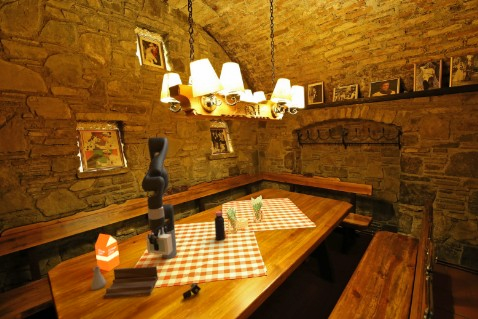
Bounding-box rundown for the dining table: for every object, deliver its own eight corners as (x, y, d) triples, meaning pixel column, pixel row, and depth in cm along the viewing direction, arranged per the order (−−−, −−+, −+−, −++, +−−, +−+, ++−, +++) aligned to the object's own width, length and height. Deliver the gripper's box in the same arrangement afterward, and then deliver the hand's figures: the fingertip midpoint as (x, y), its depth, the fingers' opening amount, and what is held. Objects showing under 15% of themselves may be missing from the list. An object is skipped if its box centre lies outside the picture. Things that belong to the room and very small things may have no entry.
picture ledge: (116, 282, 122) (114, 268, 121) (157, 279, 122) (156, 266, 122) (104, 298, 110) (102, 284, 109) (150, 294, 111) (148, 280, 110)
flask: (89, 292, 115) (86, 273, 113) (92, 283, 121) (89, 266, 120) (105, 287, 118) (103, 269, 116) (107, 279, 124) (105, 262, 123)
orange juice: (108, 271, 132) (104, 238, 129) (97, 268, 135) (93, 236, 132) (120, 263, 139) (116, 232, 137) (109, 261, 142) (105, 230, 140)
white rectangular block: (147, 253, 117) (145, 236, 116) (152, 248, 121) (151, 232, 120) (168, 255, 114) (166, 238, 113) (172, 250, 118) (171, 234, 117)
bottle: (216, 236, 169) (214, 210, 166) (225, 236, 169) (223, 210, 166) (215, 240, 162) (213, 213, 159) (224, 240, 162) (223, 213, 159)
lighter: (188, 303, 107) (182, 297, 105) (187, 301, 109) (180, 295, 107) (201, 289, 110) (195, 283, 108) (200, 287, 111) (193, 281, 109)
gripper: (154, 221, 107) (157, 256, 109) (170, 211, 121) (173, 241, 123) (140, 221, 109) (144, 254, 111) (158, 210, 123) (161, 240, 125)
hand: (159, 247), depth 117 cm, fingers closed on white rectangular block, 4 cm apart
